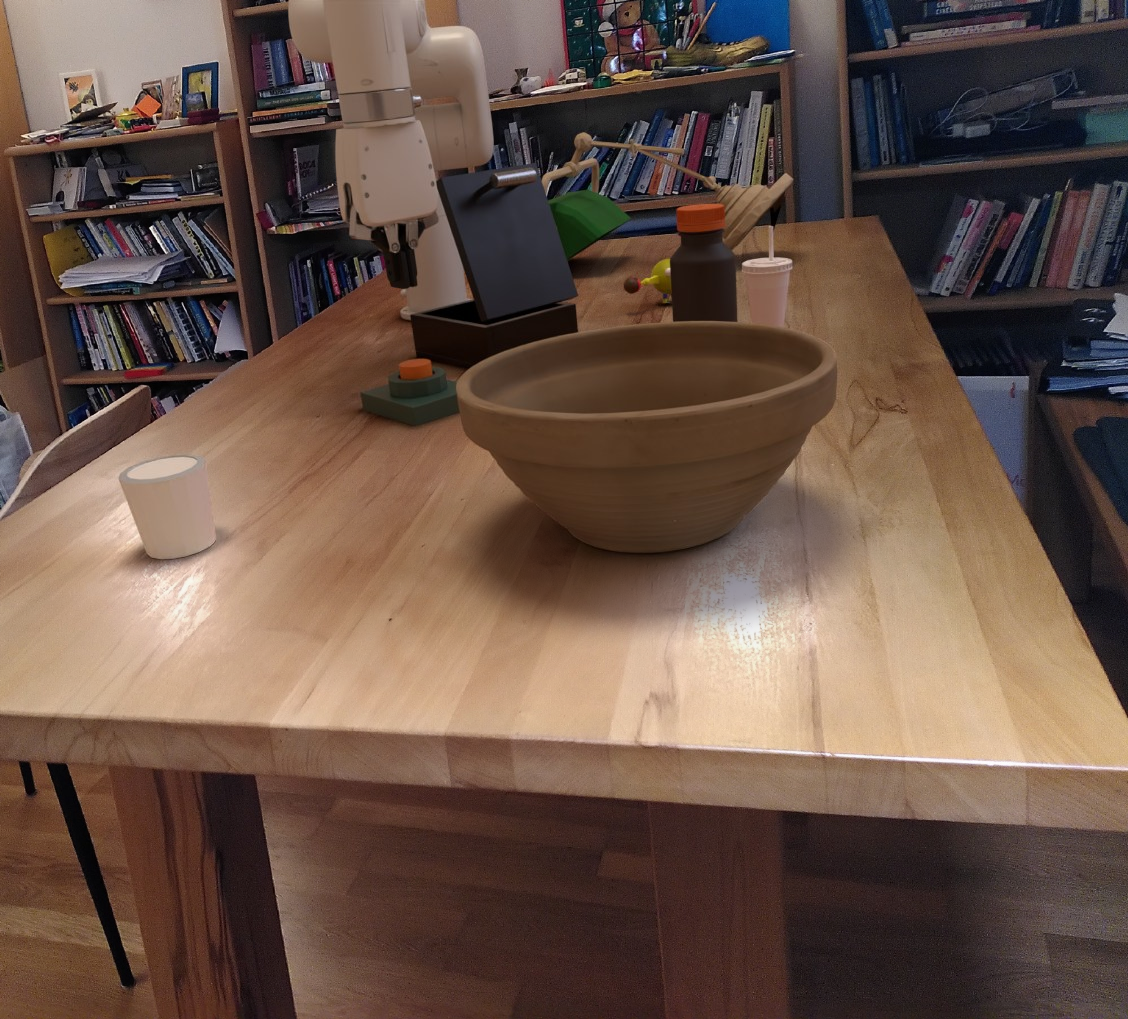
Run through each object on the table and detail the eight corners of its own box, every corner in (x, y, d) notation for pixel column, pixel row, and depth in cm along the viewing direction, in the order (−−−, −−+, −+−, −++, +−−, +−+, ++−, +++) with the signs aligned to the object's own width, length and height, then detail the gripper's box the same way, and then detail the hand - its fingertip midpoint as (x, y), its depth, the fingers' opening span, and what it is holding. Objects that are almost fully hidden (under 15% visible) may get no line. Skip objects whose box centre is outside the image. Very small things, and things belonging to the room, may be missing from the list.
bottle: (700, 408, 110) (691, 213, 102) (665, 395, 115) (654, 209, 108) (752, 395, 112) (747, 203, 105) (715, 383, 118) (708, 200, 111)
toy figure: (642, 317, 154) (639, 270, 151) (616, 313, 158) (613, 268, 155) (722, 293, 164) (721, 250, 162) (696, 290, 168) (694, 248, 166)
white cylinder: (152, 533, 91) (132, 458, 88) (231, 524, 91) (213, 448, 88) (128, 566, 84) (106, 486, 82) (213, 556, 85) (194, 476, 82)
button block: (363, 410, 121) (357, 377, 120) (427, 391, 126) (422, 359, 125) (415, 426, 113) (409, 391, 112) (481, 405, 118) (477, 371, 117)
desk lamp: (676, 342, 217) (537, 216, 215) (819, 183, 196) (666, 44, 195) (635, 390, 186) (473, 244, 185) (798, 208, 166) (617, 43, 165)
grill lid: (434, 181, 127) (460, 162, 122) (529, 166, 136) (557, 148, 131) (481, 322, 129) (508, 309, 124) (571, 298, 138) (601, 285, 132)
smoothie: (793, 341, 132) (792, 228, 127) (742, 343, 134) (739, 232, 128) (793, 329, 138) (792, 221, 133) (744, 332, 139) (741, 224, 134)
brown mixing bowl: (433, 503, 91) (411, 356, 86) (713, 436, 101) (708, 301, 96) (560, 640, 67) (539, 446, 62) (915, 535, 76) (921, 359, 71)
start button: (395, 379, 119) (392, 364, 118) (421, 371, 121) (419, 357, 120) (412, 383, 116) (410, 368, 115) (439, 376, 118) (436, 361, 117)
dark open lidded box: (416, 357, 143) (409, 314, 141) (502, 334, 152) (497, 293, 149) (490, 374, 131) (485, 327, 129) (579, 348, 140) (575, 303, 137)
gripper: (417, 104, 115) (440, 271, 123) (295, 118, 107) (328, 297, 114) (456, 101, 110) (478, 276, 117) (332, 116, 101) (363, 304, 109)
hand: (404, 286), depth 116 cm, fingers closed
